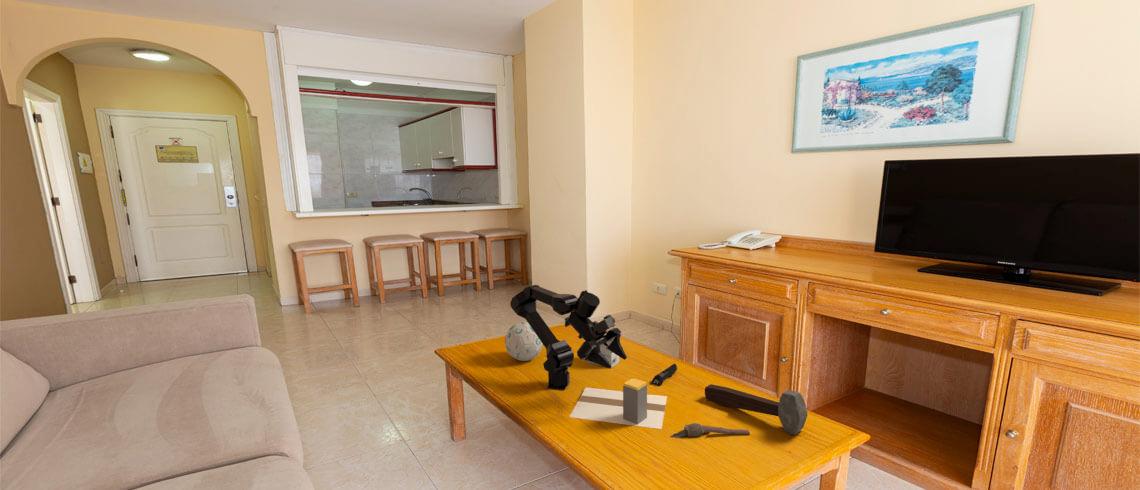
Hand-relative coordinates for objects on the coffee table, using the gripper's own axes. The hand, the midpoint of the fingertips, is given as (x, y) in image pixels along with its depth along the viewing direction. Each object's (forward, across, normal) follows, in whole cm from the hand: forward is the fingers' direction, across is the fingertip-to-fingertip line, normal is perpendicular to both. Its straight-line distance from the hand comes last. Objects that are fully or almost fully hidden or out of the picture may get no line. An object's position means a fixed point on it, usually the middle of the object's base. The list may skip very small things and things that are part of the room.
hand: (618, 363), depth 141 cm
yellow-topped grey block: (+14, -3, +7) cm, 16 cm away
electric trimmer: (+10, +29, +10) cm, 33 cm away
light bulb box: (-10, +28, +25) cm, 39 cm away
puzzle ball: (-32, +14, +42) cm, 55 cm away
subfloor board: (+9, +1, +12) cm, 15 cm away
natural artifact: (+32, +1, -4) cm, 32 cm away
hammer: (+36, +19, -9) cm, 42 cm away
